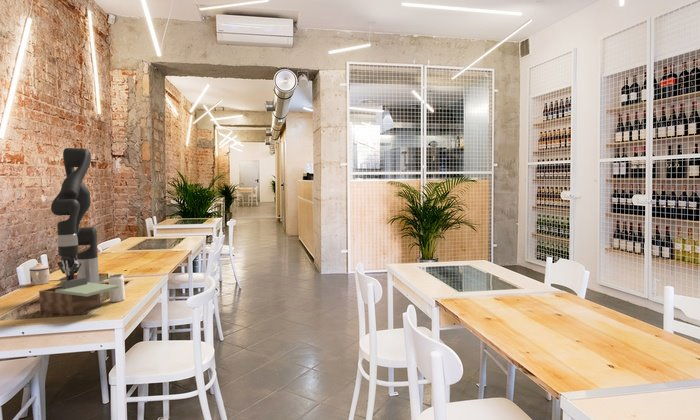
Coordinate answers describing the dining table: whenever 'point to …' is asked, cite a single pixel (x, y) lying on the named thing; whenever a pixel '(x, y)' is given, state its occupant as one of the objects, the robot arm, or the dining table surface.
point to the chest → (66, 302)
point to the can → (118, 293)
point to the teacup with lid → (39, 274)
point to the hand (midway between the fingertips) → (70, 283)
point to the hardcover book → (101, 277)
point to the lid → (84, 287)
